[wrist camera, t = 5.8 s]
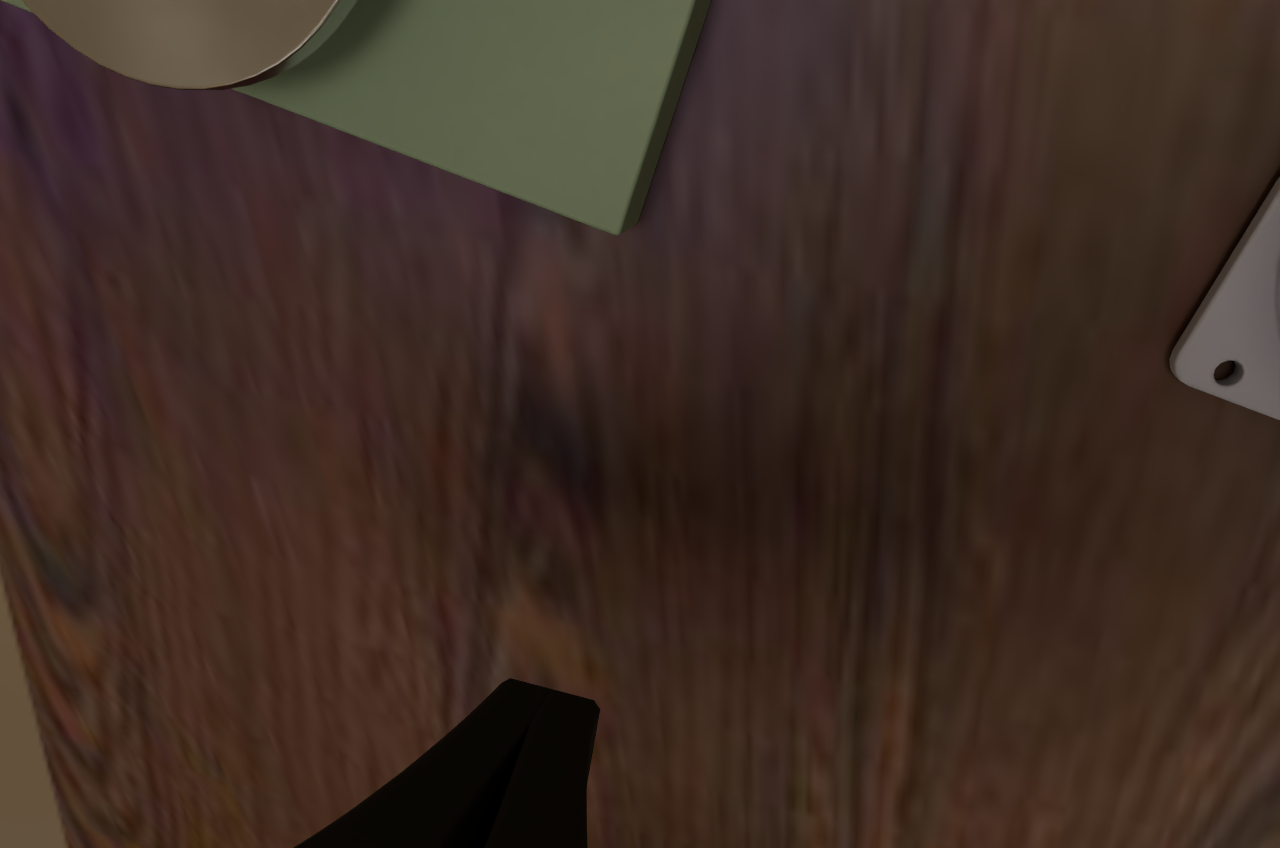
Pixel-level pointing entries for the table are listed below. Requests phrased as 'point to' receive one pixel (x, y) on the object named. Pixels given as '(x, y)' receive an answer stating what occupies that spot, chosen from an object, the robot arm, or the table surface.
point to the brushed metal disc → (194, 37)
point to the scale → (508, 92)
